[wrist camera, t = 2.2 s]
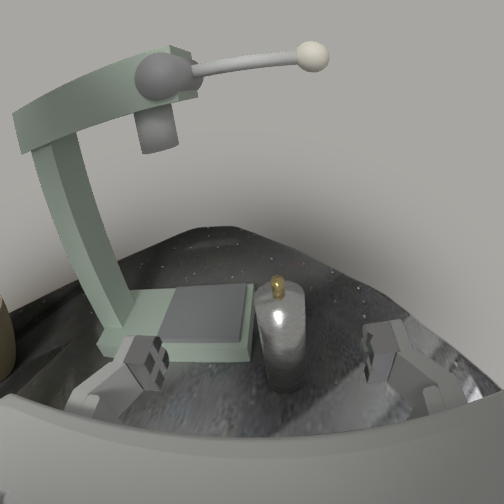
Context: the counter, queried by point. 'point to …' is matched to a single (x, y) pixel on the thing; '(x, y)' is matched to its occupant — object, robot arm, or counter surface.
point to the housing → (282, 333)
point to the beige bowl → (6, 342)
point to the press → (87, 215)
